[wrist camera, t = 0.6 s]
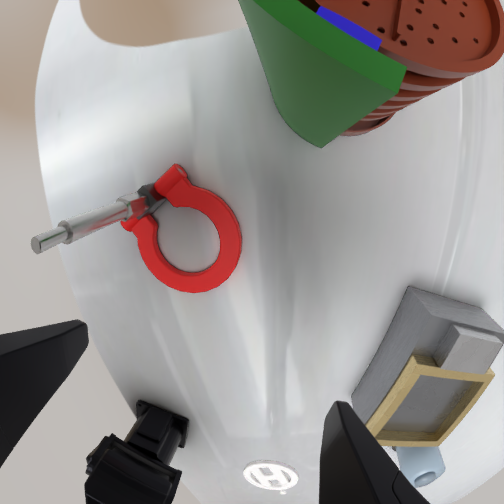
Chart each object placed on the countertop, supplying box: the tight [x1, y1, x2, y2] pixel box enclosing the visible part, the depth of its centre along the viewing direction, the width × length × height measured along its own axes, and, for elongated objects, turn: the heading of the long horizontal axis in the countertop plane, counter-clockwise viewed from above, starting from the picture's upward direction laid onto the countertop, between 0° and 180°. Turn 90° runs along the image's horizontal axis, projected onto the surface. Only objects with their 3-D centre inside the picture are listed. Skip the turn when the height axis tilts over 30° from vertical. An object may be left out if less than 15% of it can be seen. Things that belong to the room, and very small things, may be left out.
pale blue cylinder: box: [392, 446, 445, 488], centre depth 21 cm, size 6×6×7 cm
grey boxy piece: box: [351, 286, 504, 447], centre depth 19 cm, size 15×9×6 cm, turn 166°
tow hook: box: [31, 164, 242, 293], centre depth 17 cm, size 8×13×9 cm
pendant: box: [244, 460, 298, 494], centre depth 30 cm, size 7×11×1 cm, turn 21°
